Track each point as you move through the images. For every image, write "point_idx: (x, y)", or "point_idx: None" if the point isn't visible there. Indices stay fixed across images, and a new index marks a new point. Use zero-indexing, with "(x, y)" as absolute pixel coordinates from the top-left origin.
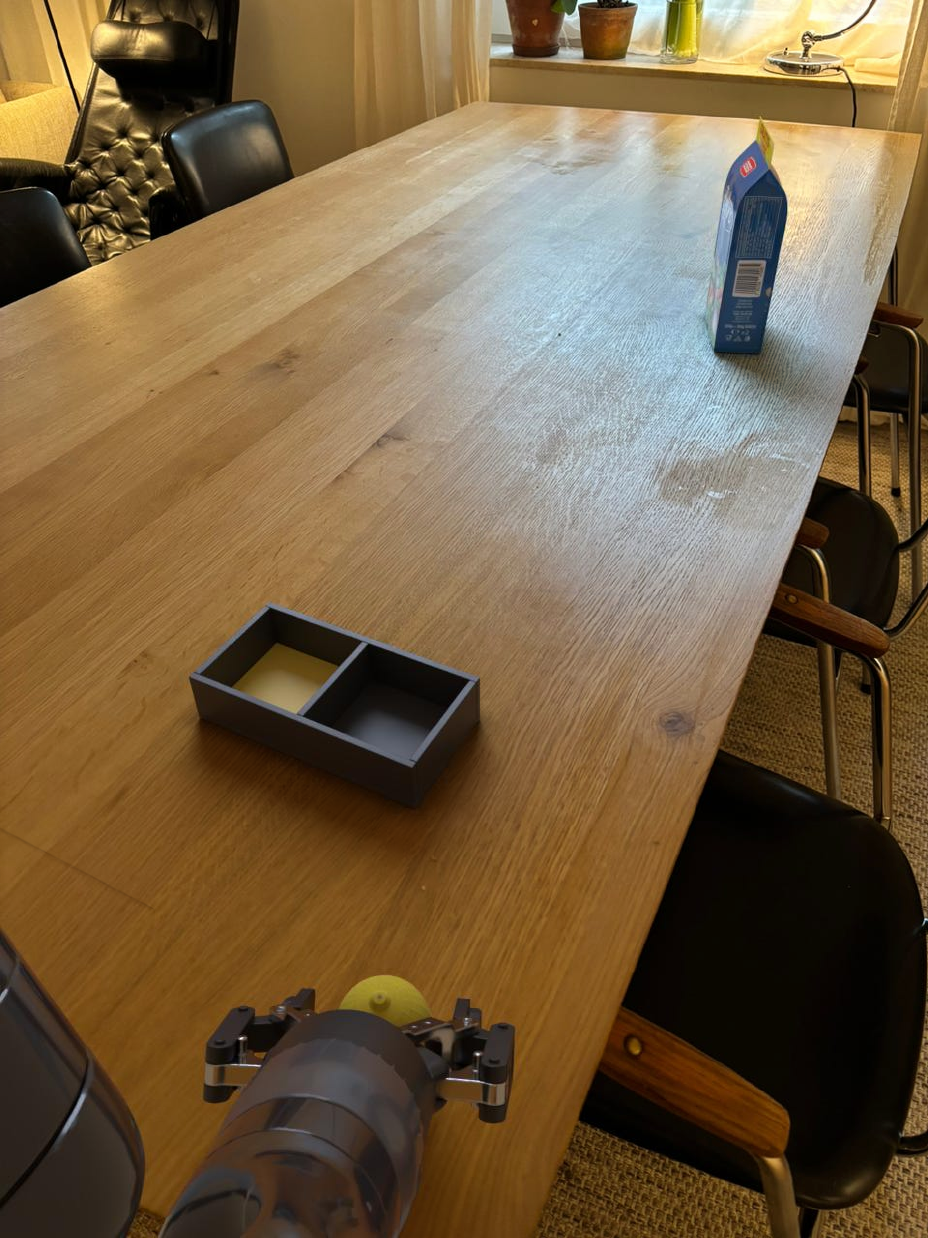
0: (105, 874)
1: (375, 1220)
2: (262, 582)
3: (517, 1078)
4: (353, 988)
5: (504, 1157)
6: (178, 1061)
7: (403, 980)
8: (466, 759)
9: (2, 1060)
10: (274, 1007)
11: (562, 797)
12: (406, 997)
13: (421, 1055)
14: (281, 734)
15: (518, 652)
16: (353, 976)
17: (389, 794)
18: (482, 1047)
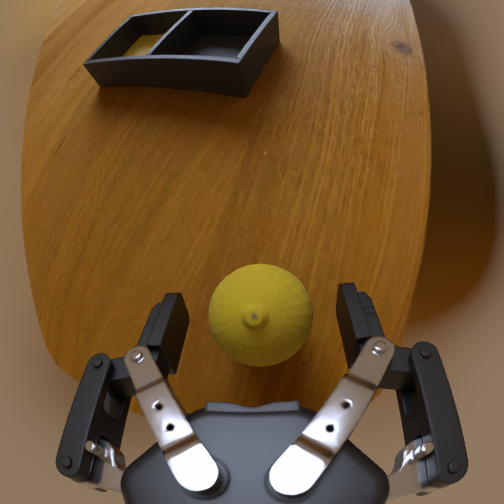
0: (55, 195)
1: None
2: None
3: None
4: (219, 292)
5: None
6: (111, 320)
7: (276, 274)
8: (276, 63)
9: None
10: (130, 352)
11: (352, 82)
12: (286, 303)
13: (351, 484)
14: (140, 73)
15: (293, 12)
16: (220, 237)
17: (224, 91)
18: (399, 377)
